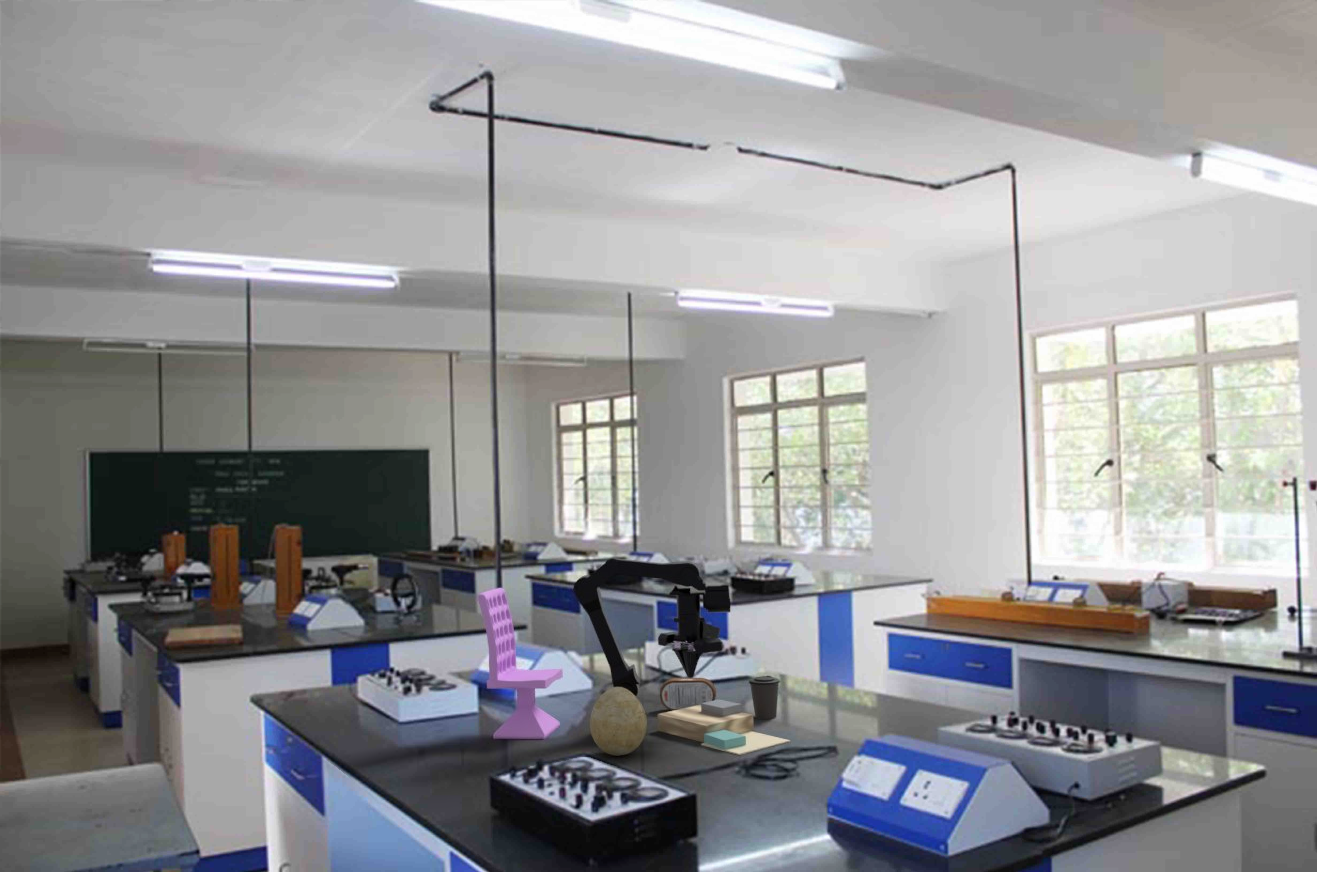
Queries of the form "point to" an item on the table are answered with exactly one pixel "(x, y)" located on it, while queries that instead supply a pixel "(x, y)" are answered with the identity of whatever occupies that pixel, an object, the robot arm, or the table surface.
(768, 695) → the coffee cup
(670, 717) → the wooden block
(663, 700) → the tin
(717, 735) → the teal block
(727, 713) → the gray rectangular block
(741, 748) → the mat
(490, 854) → the table surface
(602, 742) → the fossilized egg
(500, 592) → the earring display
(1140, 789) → the table surface
